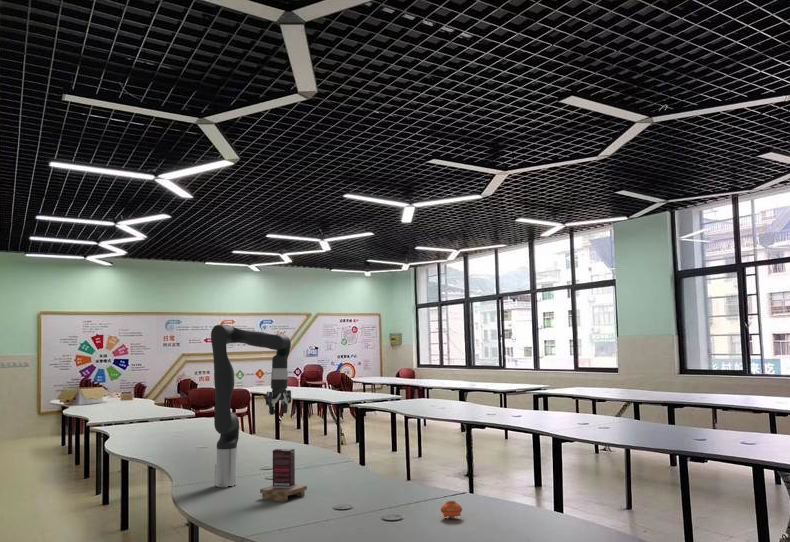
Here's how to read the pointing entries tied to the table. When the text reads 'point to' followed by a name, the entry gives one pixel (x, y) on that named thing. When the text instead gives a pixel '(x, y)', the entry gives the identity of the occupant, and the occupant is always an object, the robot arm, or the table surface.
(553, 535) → the table surface
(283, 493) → the tan board
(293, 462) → the supplement box
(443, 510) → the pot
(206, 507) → the table surface
